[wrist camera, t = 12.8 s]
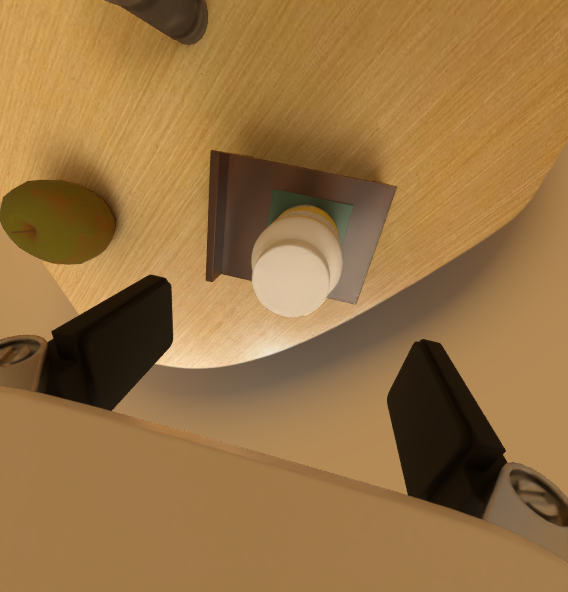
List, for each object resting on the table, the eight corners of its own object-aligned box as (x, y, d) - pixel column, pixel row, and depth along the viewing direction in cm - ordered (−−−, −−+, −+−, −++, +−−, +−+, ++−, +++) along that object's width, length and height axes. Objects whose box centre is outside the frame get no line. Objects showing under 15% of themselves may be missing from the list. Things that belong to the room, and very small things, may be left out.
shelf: (382, 182, 29) (404, 188, 21) (350, 279, 35) (358, 315, 26) (243, 154, 30) (210, 149, 21) (234, 253, 35) (205, 280, 27)
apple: (55, 220, 37) (-41, 239, 28) (72, 160, 33) (-34, 156, 23) (117, 263, 39) (47, 295, 29) (140, 211, 35) (68, 228, 25)
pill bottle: (289, 277, 28) (266, 342, 17) (261, 221, 26) (215, 257, 15) (348, 253, 26) (362, 311, 15) (323, 190, 23) (318, 207, 13)
